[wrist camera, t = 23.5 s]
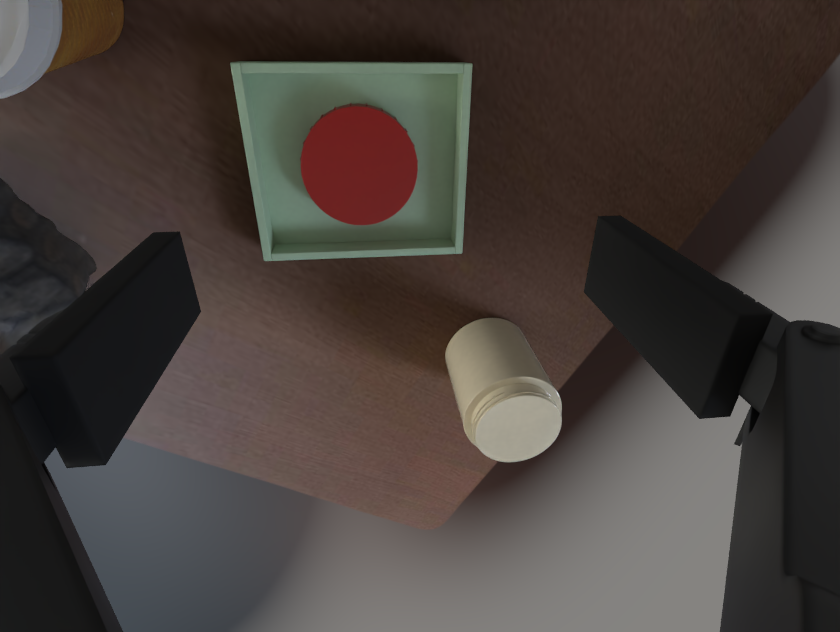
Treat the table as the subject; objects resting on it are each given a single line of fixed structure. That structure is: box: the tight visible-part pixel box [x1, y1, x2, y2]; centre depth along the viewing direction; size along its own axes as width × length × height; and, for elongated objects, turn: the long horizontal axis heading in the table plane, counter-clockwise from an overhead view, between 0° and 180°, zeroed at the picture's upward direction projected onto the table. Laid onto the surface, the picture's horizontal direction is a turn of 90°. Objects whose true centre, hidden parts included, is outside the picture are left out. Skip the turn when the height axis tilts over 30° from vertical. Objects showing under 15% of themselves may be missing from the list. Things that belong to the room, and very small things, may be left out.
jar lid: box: [300, 103, 418, 225], centre depth 34 cm, size 8×8×2 cm
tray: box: [230, 61, 472, 261], centre depth 34 cm, size 15×13×2 cm
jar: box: [445, 318, 562, 462], centre depth 41 cm, size 8×8×10 cm
